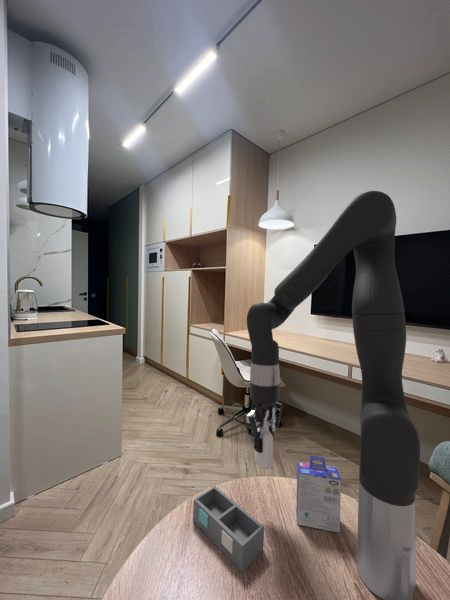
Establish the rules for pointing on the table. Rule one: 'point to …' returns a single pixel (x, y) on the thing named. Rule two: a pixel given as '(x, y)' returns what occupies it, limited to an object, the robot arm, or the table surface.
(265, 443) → the eye dropper bottle
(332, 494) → the ink cartridge box
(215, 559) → the table surface
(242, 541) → the block
